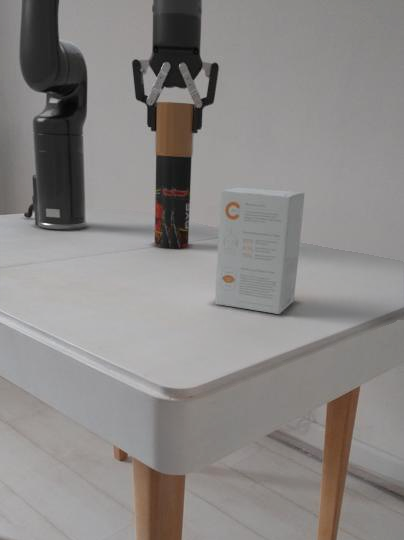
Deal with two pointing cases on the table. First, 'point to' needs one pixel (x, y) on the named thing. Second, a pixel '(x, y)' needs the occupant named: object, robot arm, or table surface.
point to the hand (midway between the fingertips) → (174, 131)
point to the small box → (258, 248)
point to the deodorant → (172, 201)
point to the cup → (174, 129)
